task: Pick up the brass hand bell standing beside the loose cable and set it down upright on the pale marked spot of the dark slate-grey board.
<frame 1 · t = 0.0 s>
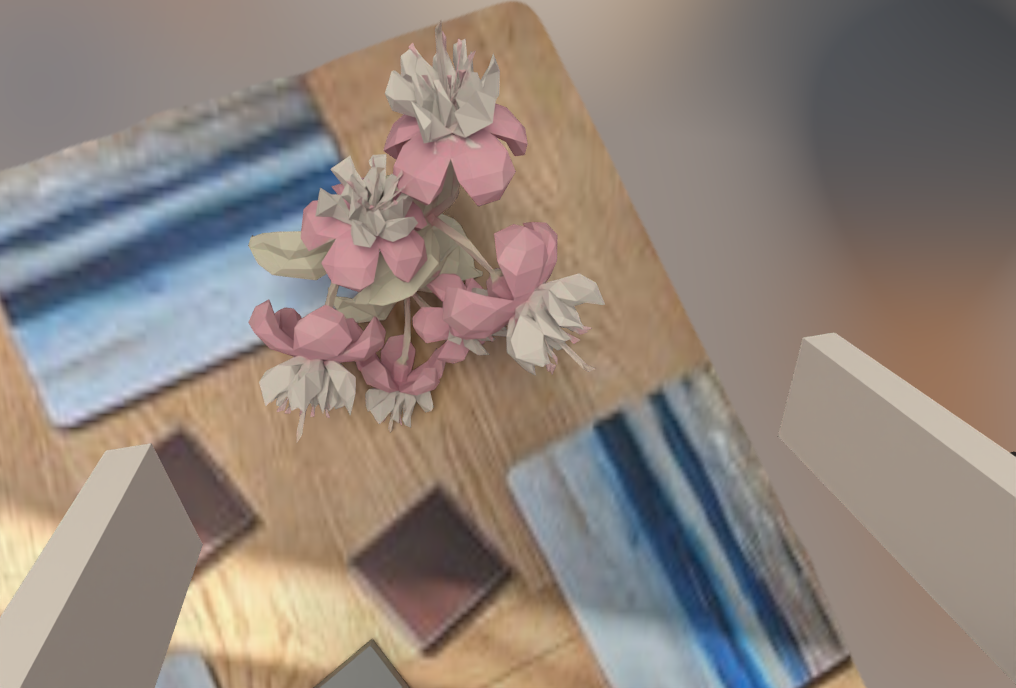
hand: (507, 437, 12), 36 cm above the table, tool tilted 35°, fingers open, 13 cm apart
flower: (417, 326, 48), on the table
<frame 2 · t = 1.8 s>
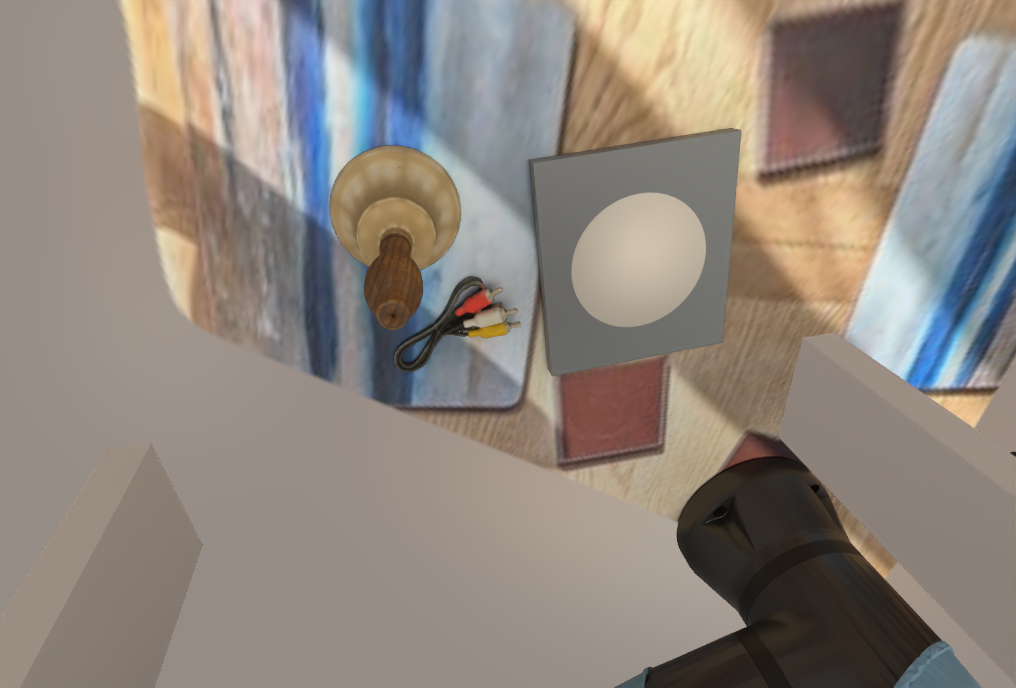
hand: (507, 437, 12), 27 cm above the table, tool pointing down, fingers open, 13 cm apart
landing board: (632, 257, 40), on the table
hand bell: (396, 211, 36), on the table
composite cable: (447, 318, 41), on the table
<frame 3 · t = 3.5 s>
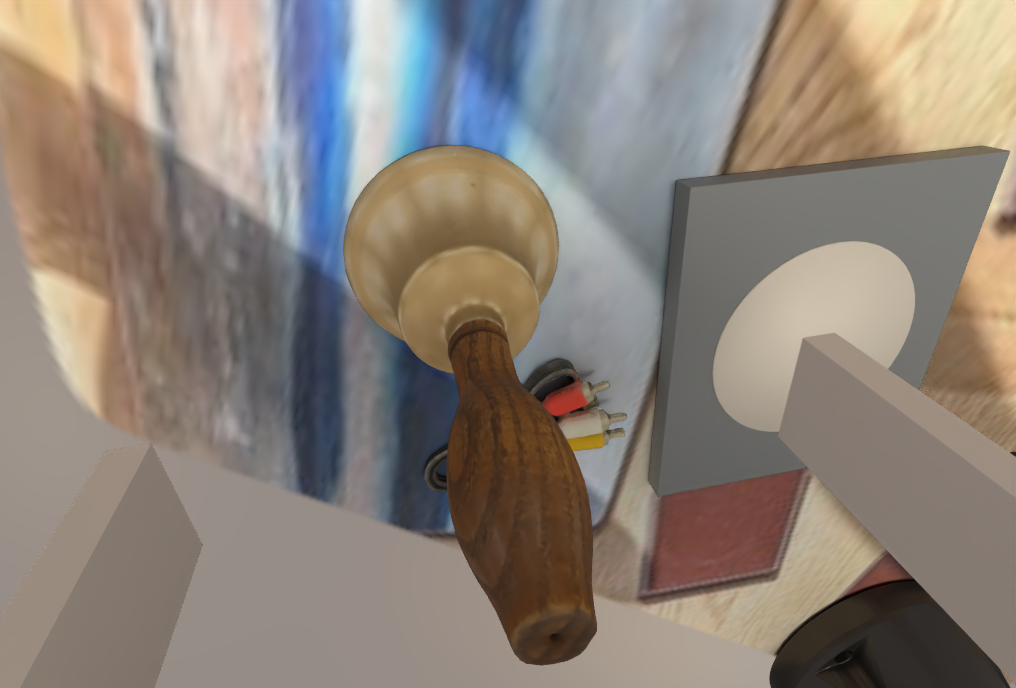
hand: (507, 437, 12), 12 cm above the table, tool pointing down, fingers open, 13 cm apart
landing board: (796, 332, 27), on the table
hand bell: (453, 254, 22), on the table
composite cable: (509, 413, 27), on the table
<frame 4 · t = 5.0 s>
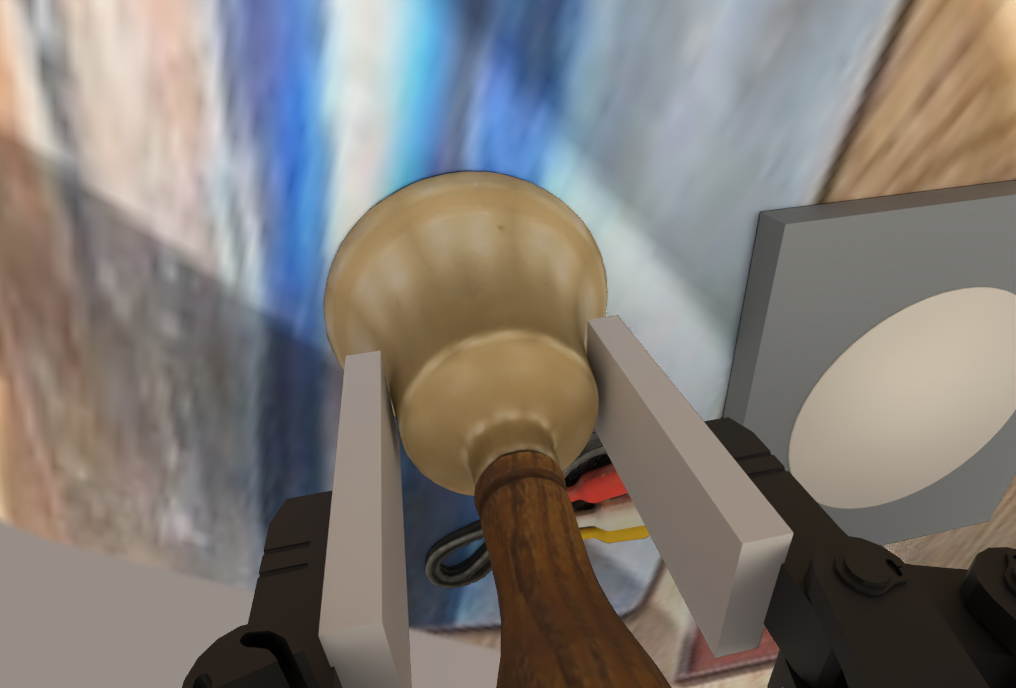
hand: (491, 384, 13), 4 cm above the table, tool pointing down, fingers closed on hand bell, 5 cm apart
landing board: (887, 391, 22), on the table
hand bell: (470, 309, 17), on the table, touching gripper
composite cable: (531, 492, 21), on the table
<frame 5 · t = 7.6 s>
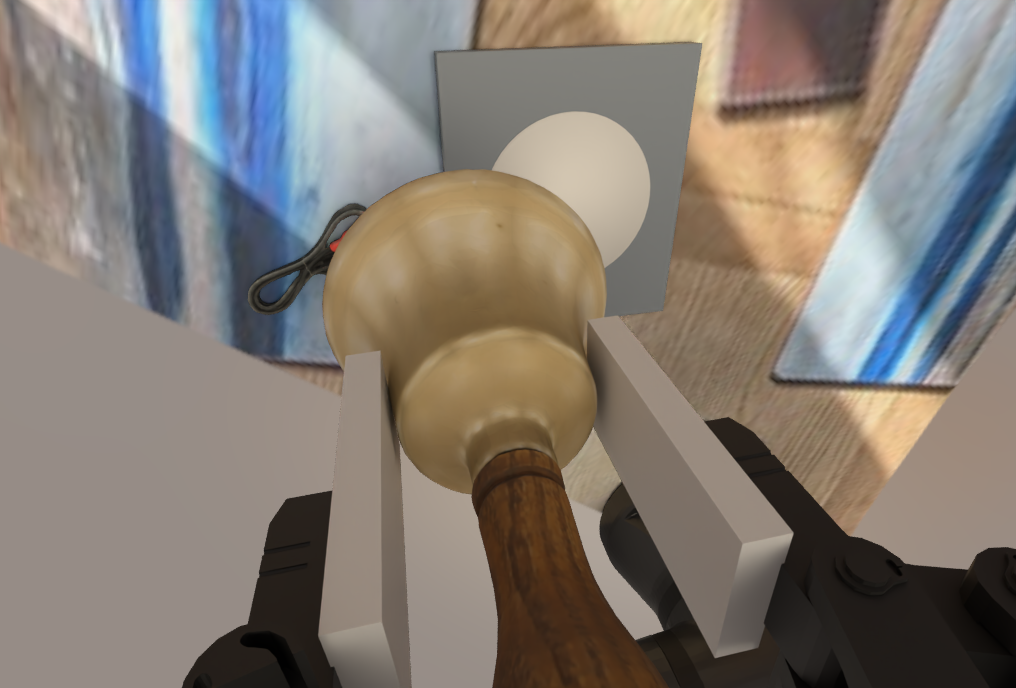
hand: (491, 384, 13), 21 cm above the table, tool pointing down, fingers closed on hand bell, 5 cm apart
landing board: (562, 197, 33), on the table
hand bell: (469, 308, 17), point 17 cm above the table, touching gripper
composite cable: (322, 253, 33), on the table
when the fingers open (6 cm above the table, at t = 10.5 s): hand bell drops 1 cm, resting on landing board.
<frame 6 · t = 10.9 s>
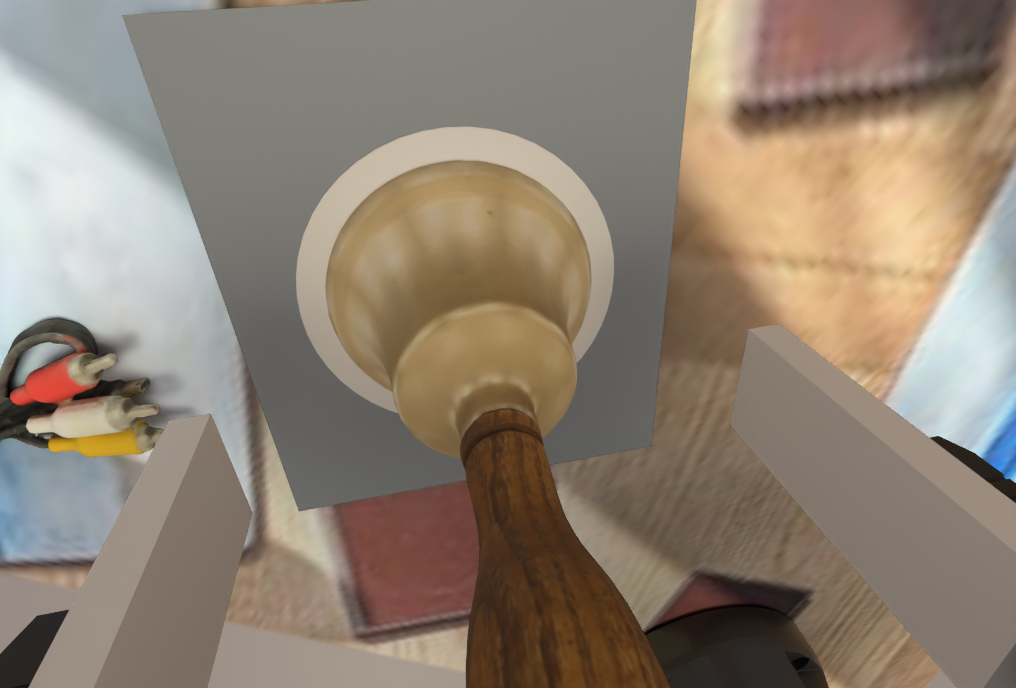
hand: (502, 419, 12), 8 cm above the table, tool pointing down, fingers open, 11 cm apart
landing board: (458, 278, 19), on the table
hand bell: (462, 291, 18), point 1 cm above the table, touching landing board
composite cable: (23, 398, 18), on the table
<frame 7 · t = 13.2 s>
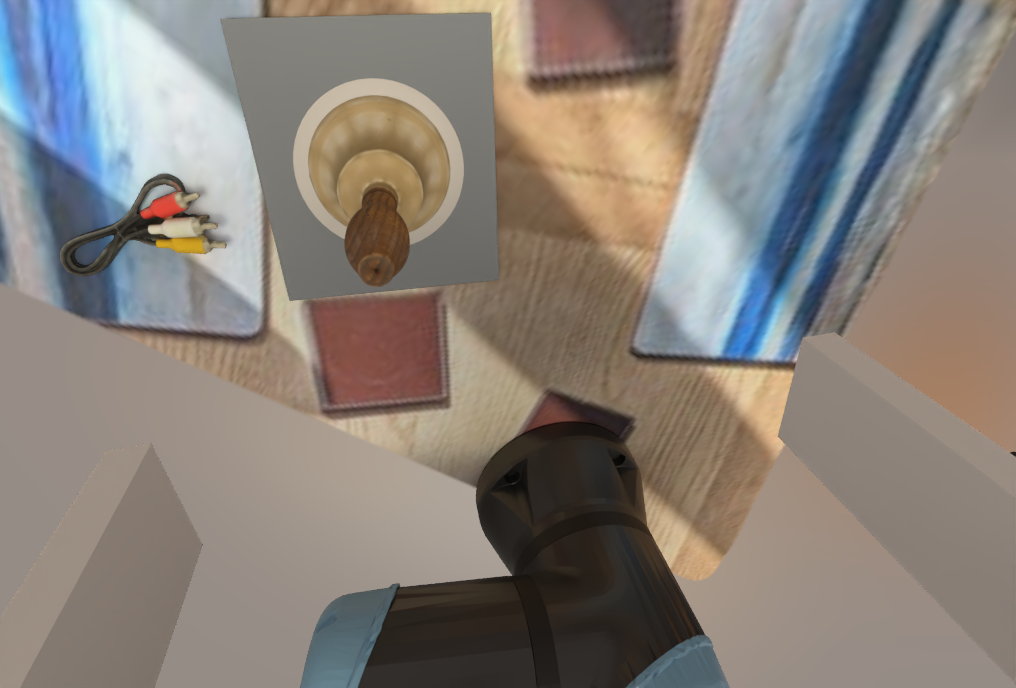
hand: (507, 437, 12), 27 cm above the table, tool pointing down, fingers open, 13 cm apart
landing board: (381, 165, 34), on the table
hand bell: (381, 169, 33), point 1 cm above the table, touching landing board
composite cable: (140, 221, 34), on the table
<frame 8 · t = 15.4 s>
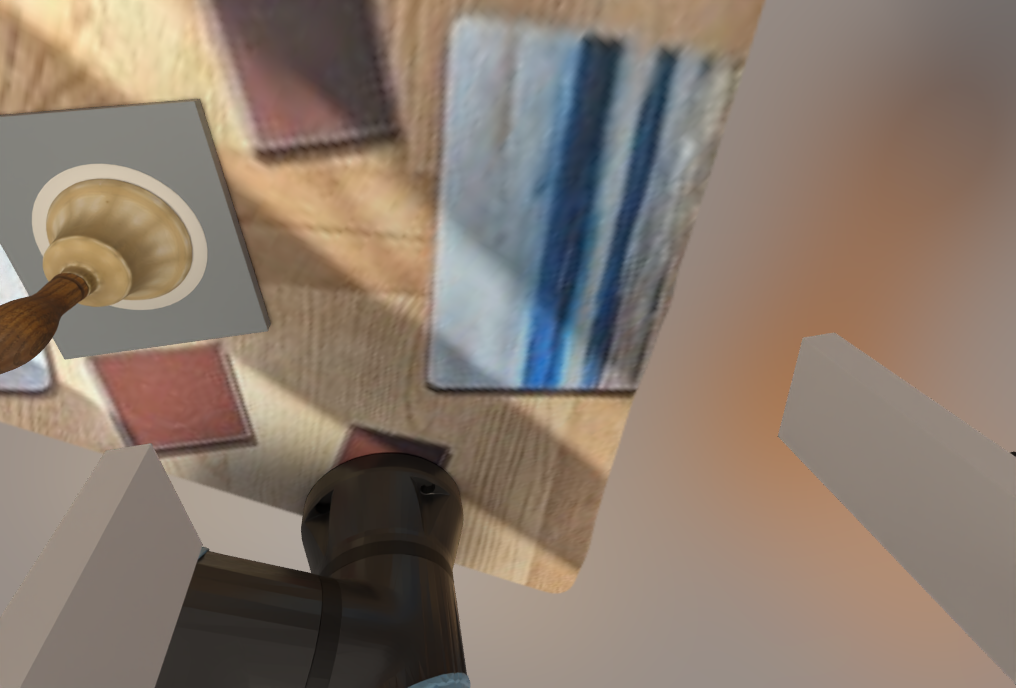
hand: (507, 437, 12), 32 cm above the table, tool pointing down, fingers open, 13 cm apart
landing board: (130, 235, 38), on the table
hand bell: (124, 240, 37), point 1 cm above the table, touching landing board
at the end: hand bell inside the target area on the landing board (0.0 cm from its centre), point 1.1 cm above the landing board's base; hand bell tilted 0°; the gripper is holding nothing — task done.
